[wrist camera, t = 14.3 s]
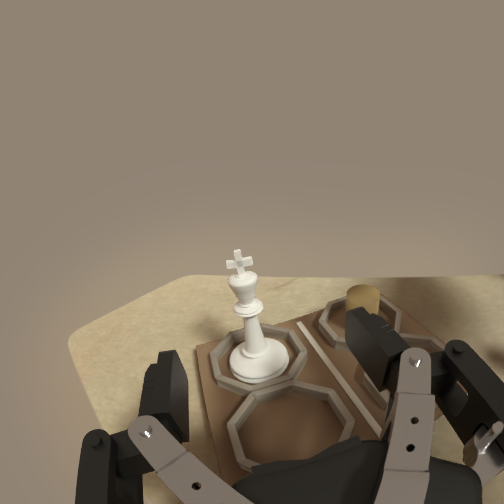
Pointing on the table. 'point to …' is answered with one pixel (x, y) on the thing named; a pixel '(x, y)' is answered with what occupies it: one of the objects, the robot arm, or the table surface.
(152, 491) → the table surface
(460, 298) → the table surface
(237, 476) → the brown octagon slot tray
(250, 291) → the chess piece
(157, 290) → the table surface
